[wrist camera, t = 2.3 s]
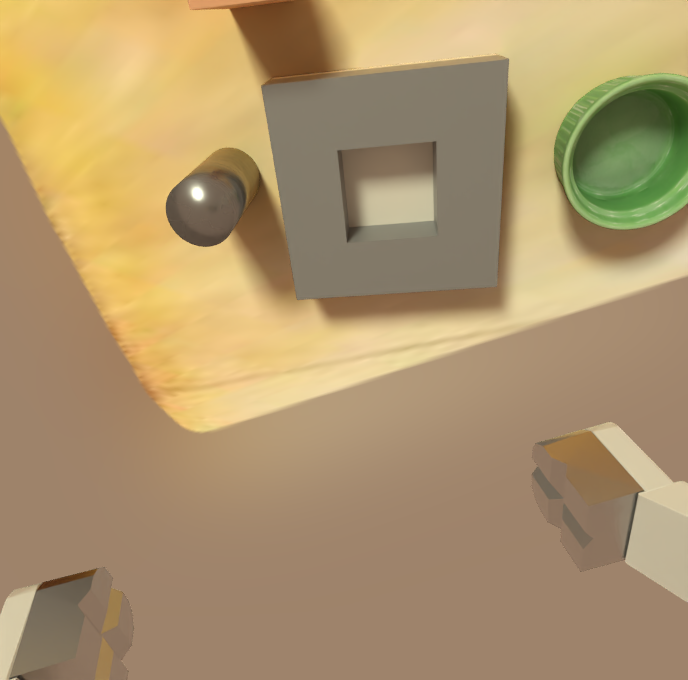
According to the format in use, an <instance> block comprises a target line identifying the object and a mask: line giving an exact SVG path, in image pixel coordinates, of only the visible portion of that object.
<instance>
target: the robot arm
mask: <svg viewBox="0 0 688 680" xmlns="http://www.w3.org/2000/svg"><path fill="white" fill-rule="evenodd" d="M532 458H533V460H534V461H535V463H536V464H537V465H538V467H537V468H536V469H535V471H534V472H533V473H532V489H533V492H534V496H535V499H536V502H537V504H538V506H539V508H540V510H541V512H542V514H543V515H544V517H545V518H546V520H547V522H549V523H551V524H553V525H555V526H557V527H558V528H561V543H562V544H563V546H564V548H565V549H566V551H567V552H568V554H569V555H570V556H571V558H572V559H573V561H574V563H575V564H576V565H577V567H578V568H579V570H580V572H582V571H586V570H590V569H593V568H597V567H600V566H604V565H608V564H611V563H615V562H619V561H622V560H625V563H627V564H628V565H630V566H631V567H633V568H634V569H636V570H638V571H639V572H641V573H642V574H644V575H645V576H647V577H648V578H650V579H652V580H653V581H655V582H656V583H658V584H660V585H661V586H663V587H664V588H666V589H667V590H669V591H670V592H672V593H674V594H675V595H677V596H678V597H680V598H682V599H683V600H684V601H686V602H687V603H688V483H686V482H684V481H679V482H675V483H674V482H673V481H672V480H671V479H670V478H669V477H668V476H667V475H666V474H665V473H664V472H663V471H662V470H661V469H660V468H659V467H658V466H657V465H656V464H655V463H654V462H653V461H652V460H651V459H650V458H649V457H648V456H647V455H646V454H645V453H644V452H643V451H642V450H641V449H640V448H639V447H638V446H637V445H636V444H635V443H634V442H633V441H632V440H631V439H630V438H629V437H628V436H627V435H626V434H625V433H624V432H623V431H622V430H621V429H620V428H619V427H618V426H617V425H616V424H614V423H612V422H608V423H604V424H601V425H598V426H594V427H591V428H587V429H585V430H578V431H575V432H572V433H569V434H565V435H562V436H559V437H555V438H552V439H548V440H545V441H542V442H538V443H536V444H535V446H534V447H533V453H532ZM112 580H113V577H112V576H111V575H110V573H109V572H108V571H107V570H106V568H105V567H102V568H96V569H93V570H89V571H85V572H81V573H77V574H73V575H69V576H65V577H61V578H58V579H53V580H50V581H46V582H42V583H39V584H35V585H31V586H28V587H24V588H20V589H16V590H14V591H13V592H12V593H11V594H10V595H9V597H8V598H7V599H6V601H5V603H4V607H3V609H2V612H1V615H0V680H127V678H128V670H127V668H126V667H125V665H124V664H123V662H122V661H121V660H122V659H123V657H124V656H125V654H126V653H127V651H128V650H129V648H130V647H131V645H132V639H133V630H134V626H133V617H132V616H133V615H132V610H131V607H130V604H129V601H128V599H127V598H126V596H125V594H124V593H123V592H122V591H119V590H116V589H113V588H111V586H112Z"/></svg>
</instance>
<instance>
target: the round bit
mask: <svg viewBox="0 0 688 680" xmlns="http://www.w3.org/2000/svg"><path fill="white" fill-rule="evenodd" d="M259 186H260V173H259V170H258V167H257V165H256V164H255V162H254V161H253V159H252V158H251V157H250V156H249V155H247V154H246V153H245V152H243V151H241V150H238V149H235V148H222V149H219V150H217V151H215V152H214V153H213V154H211V155H210V156H209V157H208V158H207V159H206V160H205V161H204V162H202V163H201V164H200V165H199V166H198V167H197V168H196V169H195V170H193V171H192V172H191V173H190V174H189V175H188V176H187V177H185V178H184V179H183V180H182V181H181V182H180V183H179V184H178V185H176V186H175V187H174V188H173V189H172V191H171V192H170V194H169V196H168V198H167V202H166V214H167V218H168V221H169V223H170V225H171V227H172V228H173V230H174V231H175V232H176V233H177V234H178V235H179V236H180V237H181V238H182V239H184V240H185V241H187V242H189V243H191V244H194V245H197V246H203V247H208V246H214V245H217V244H219V243H221V242H223V241H224V240H225V239H226V238H227V237H228V236H229V235H230V233H231V232H232V230H233V228H234V227H235V225H236V224H237V222H238V221H239V219H240V218H241V216H242V215H243V213H244V212H245V210H246V209H247V207H248V206H249V204H250V203H251V201H252V200H253V198H254V196H255V195H256V193H257V192H258V189H259Z"/></svg>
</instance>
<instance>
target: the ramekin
mask: <svg viewBox="0 0 688 680" xmlns="http://www.w3.org/2000/svg"><path fill="white" fill-rule="evenodd" d="M554 163H555V169H556V172H557V175H558V178H559V180H560V181H561V183H562V185H563V187H564V190H565V193H566V195H567V198H568V200H569V202H570V203H571V205H572V206H573V208H574V209H575V210H576V211H577V212H578V213H579V214H580V215H581V216H582V217H583V218H585V219H586V220H588V221H589V222H591V223H593V224H596V225H598V226H601V227H604V228H608V229H615V230H631V229H638V228H643V227H646V226H650V225H653V224H656V223H658V222H660V221H662V220H664V219H666V218H668V217H670V216H671V215H673V214H675V213H676V212H678V211H679V210H680V209H682V208H683V207H684V206H685V205H687V204H688V77H685V76H681V75H677V74H668V73H659V74H649V75H644V76H626V77H620V78H617V79H614V80H610V81H608V82H606V83H603V84H601V85H599V86H598V87H596V88H594V89H593V90H591V91H590V92H588V93H587V94H586V95H585V96H583V97H582V98H581V99H580V100H579V101H578V102H577V103H576V104H575V105H574V106H573V107H572V109H571V110H570V111H569V113H568V114H567V116H566V117H565V119H564V120H563V122H562V124H561V126H560V129H559V131H558V134H557V137H556V141H555V147H554Z"/></svg>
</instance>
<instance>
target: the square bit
mask: <svg viewBox="0 0 688 680" xmlns="http://www.w3.org/2000/svg"><path fill="white" fill-rule="evenodd" d="M287 1H294V0H188V3H189V8H190V10H202V9H231V8H239V7H247V6H255V5H263V4H271V3H279V2H287Z"/></svg>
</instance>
